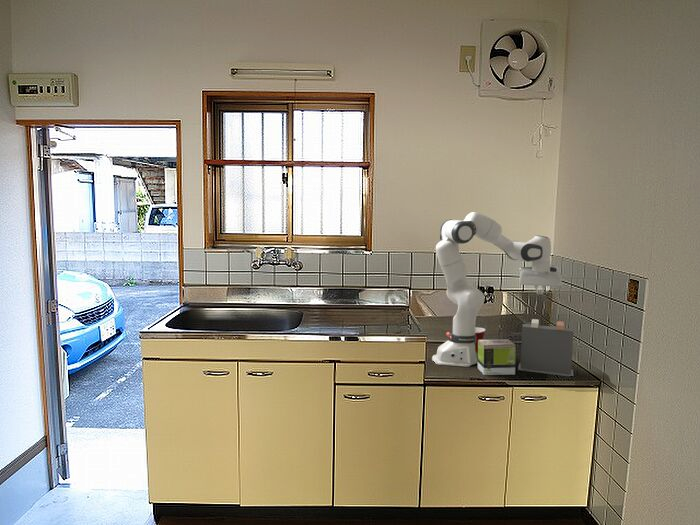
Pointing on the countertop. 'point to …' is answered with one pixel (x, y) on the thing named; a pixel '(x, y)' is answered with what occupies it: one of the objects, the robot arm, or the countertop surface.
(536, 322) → the ivory key
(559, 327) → the terracotta key
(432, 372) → the countertop surface
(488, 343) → the tea box
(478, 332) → the plastic cup
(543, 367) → the panel
